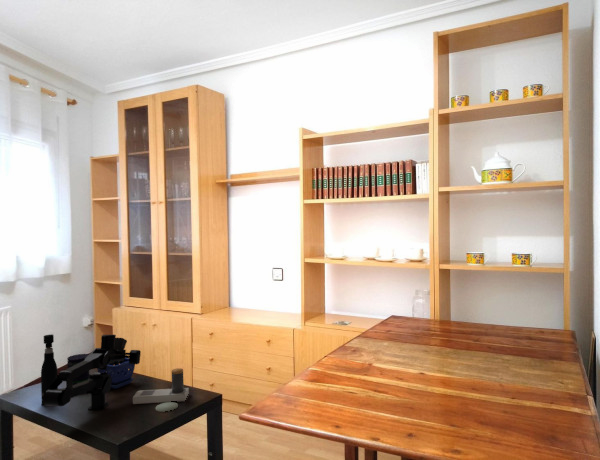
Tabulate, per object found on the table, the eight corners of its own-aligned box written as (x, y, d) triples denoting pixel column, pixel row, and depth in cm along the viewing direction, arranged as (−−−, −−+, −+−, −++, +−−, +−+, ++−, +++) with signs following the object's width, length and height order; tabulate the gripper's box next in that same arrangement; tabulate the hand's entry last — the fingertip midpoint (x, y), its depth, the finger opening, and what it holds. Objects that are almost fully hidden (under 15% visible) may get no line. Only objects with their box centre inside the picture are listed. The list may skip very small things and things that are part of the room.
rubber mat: (175, 411, 179) (175, 409, 179) (153, 412, 178) (153, 411, 178) (179, 403, 188) (179, 401, 188) (158, 404, 187) (158, 402, 187)
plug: (183, 400, 191) (182, 371, 191) (170, 400, 191) (169, 372, 191) (185, 395, 197) (184, 367, 197) (173, 396, 196) (172, 368, 196)
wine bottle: (61, 400, 196) (59, 333, 196) (53, 405, 189) (52, 336, 190) (46, 400, 195) (45, 334, 196) (38, 406, 189) (37, 337, 189)
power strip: (185, 401, 190) (185, 393, 190) (132, 403, 188) (132, 396, 188) (188, 394, 198) (188, 387, 198) (138, 397, 196) (138, 390, 196)
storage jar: (94, 383, 217) (94, 353, 217) (82, 390, 207) (81, 359, 207) (76, 383, 218) (75, 353, 218) (63, 390, 208) (62, 359, 209)
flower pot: (95, 388, 210) (95, 363, 211) (117, 379, 223) (117, 356, 223) (115, 391, 205) (115, 366, 205) (137, 382, 217) (136, 358, 217)
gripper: (131, 340, 195) (150, 338, 210) (95, 338, 199) (116, 336, 214) (128, 366, 193) (148, 362, 208) (92, 363, 197) (114, 359, 212)
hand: (131, 354), depth 210 cm, fingers open, 9 cm apart
